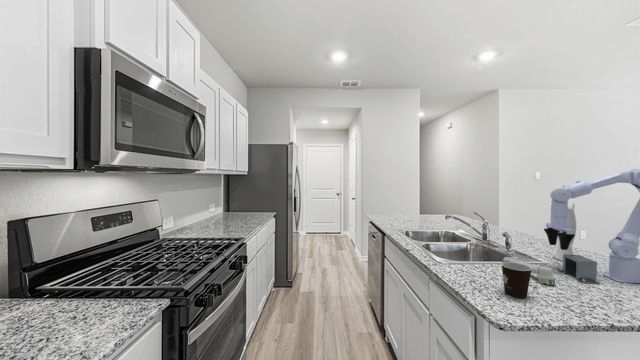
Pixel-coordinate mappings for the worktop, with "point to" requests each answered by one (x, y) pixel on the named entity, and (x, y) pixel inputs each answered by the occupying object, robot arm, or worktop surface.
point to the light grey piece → (536, 271)
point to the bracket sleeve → (580, 268)
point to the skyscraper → (570, 224)
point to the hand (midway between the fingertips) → (558, 247)
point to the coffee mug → (516, 279)
